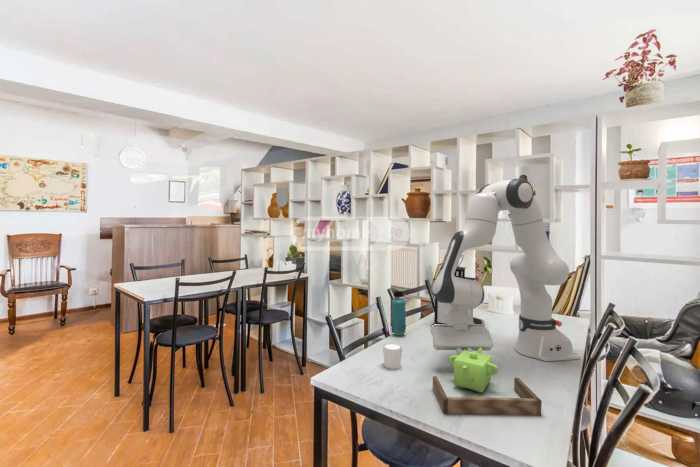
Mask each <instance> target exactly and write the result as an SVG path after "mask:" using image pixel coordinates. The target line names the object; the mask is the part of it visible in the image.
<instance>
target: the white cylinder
mask: <svg viewBox="0 0 700 467" xmlns="http://www.w3.org/2000/svg"><path fill="white" fill-rule="evenodd" d="M382 351H383V364H384V368H386V369H390V370H397V369H399V368H400V367H401V360H402V352H403V346H402V345H400V344H398V343H386V344H383V345H382Z"/></svg>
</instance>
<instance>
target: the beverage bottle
mask: <svg viewBox="0 0 700 467" xmlns="http://www.w3.org/2000/svg"><path fill="white" fill-rule="evenodd" d="M393 296H394V298H393V299H392V300H391V325H390V328H391V329H390V330H391V333H393V334H395V335H404V334H405V333H406V329H407V328H406V327H407V326H406V314H407V313H406V301H407V300H405V299H404V298H402V297H404V292H403V291H402V290H395V291H393Z"/></svg>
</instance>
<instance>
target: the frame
mask: <svg viewBox="0 0 700 467" xmlns="http://www.w3.org/2000/svg"><path fill="white" fill-rule="evenodd" d="M440 382H441V381H440V380H439V378H438V377H437V375H435V376H432V392H433V393H434V395H435V398H436V401H437V402H438V404H439V408H440V409H441V411H442V414H446V415H447V414H454V415H455V414H456V415H503V416H504V415H510V416H512V415H513V416H542V402H543V401H542V400H541V399H540V398H539V396H538V395H536V393H534V392H533V390H531V389H530V388H529V387H528V386H527V385H526V384H525V382H524V381H522V380H521V379H520V378H519V377H514V384H513V391H514V392H515V393H516V394H517V395H518V396H519V398H518V397H517V398H515V397H467V396H466V397H465V396H462V397H460V396H459V397H457V396H448V395H446V394H447V393H446V392H445V390H444V388H443V386H442V385H441V383H440Z"/></svg>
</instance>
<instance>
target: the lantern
mask: <svg viewBox="0 0 700 467" xmlns="http://www.w3.org/2000/svg"><path fill="white" fill-rule="evenodd" d="M460 259H461V260H460V262H459V264H458V265H457V268H456V271H455V273H454V276H455V277H459V278H463V279H469V280H473V281H477V279H478V277H468V276H466V274H465V273H466V269H467V267H466V266H465V267H464V266H461V264H462V262H463V261H464V260H463V259H464V255H462V254H461V257H460ZM457 274H458V275H457ZM435 279H436V277H435V278H433V279H432V281H435ZM473 313H474V309H472V310H469V315H470V316H472V317H474V316H473ZM433 322H434V323H432V324H431V326H433V325H434V324H446V321H445V311H444V309H443V304H442V303H440V302H439V301H438V300H437V299H436V298H435V297H434V320H433ZM431 326H430V327H431ZM433 327H434V326H433Z"/></svg>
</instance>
